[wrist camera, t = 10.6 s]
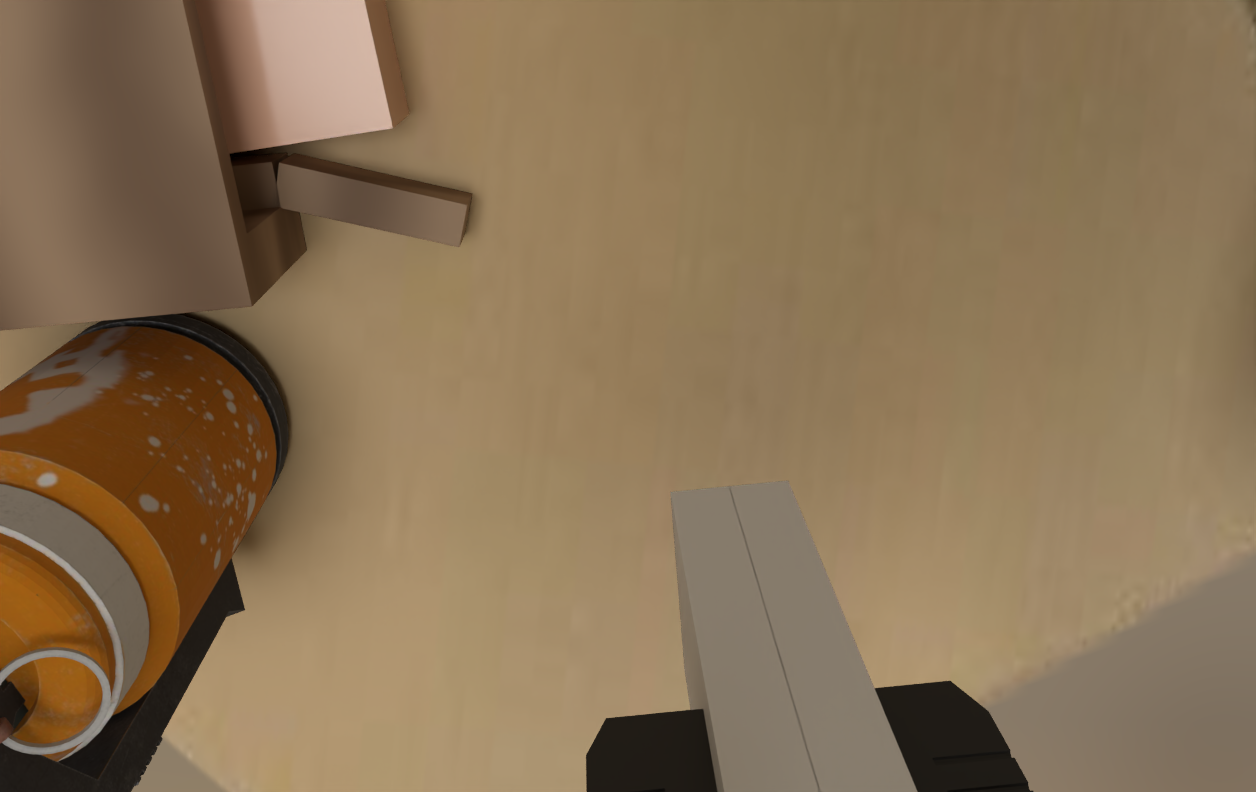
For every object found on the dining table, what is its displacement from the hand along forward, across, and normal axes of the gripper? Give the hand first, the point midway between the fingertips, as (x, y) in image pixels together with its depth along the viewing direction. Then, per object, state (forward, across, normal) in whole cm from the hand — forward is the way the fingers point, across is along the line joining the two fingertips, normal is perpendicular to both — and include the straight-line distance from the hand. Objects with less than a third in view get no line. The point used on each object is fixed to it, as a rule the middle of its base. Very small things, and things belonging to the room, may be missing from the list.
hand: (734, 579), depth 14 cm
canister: (+27, +18, +8) cm, 33 cm away
